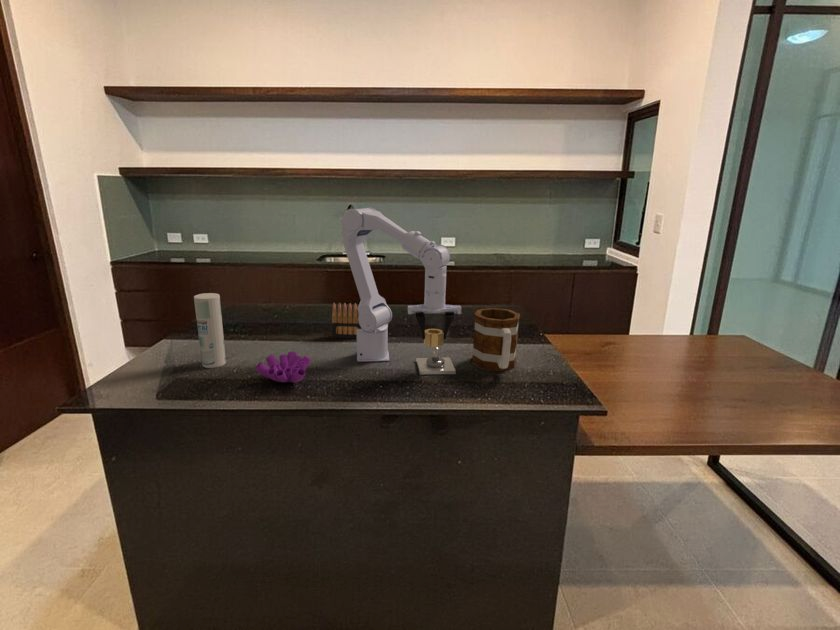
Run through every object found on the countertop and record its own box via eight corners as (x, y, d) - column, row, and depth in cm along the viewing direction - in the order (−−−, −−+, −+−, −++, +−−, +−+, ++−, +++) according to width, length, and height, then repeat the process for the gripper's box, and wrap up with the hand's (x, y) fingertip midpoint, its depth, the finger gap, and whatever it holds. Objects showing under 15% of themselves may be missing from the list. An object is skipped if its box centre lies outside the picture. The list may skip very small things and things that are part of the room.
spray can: (231, 362, 135) (224, 295, 130) (211, 369, 130) (203, 299, 124) (216, 357, 138) (209, 291, 133) (196, 364, 133) (188, 296, 127)
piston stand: (419, 374, 130) (420, 353, 128) (416, 361, 139) (416, 341, 138) (455, 373, 131) (456, 353, 129) (449, 360, 141) (450, 341, 139)
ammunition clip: (364, 336, 160) (363, 302, 157) (363, 338, 158) (362, 303, 155) (332, 335, 160) (331, 301, 157) (331, 337, 158) (330, 303, 155)
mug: (467, 354, 146) (470, 307, 142) (510, 353, 147) (514, 307, 143) (480, 380, 127) (483, 327, 123) (528, 379, 128) (533, 327, 124)
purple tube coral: (271, 403, 119) (247, 374, 117) (290, 378, 133) (268, 353, 131) (305, 380, 117) (281, 350, 115) (320, 357, 131) (298, 331, 129)
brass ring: (424, 346, 129) (425, 334, 128) (423, 340, 134) (423, 328, 133) (443, 346, 129) (444, 334, 128) (441, 340, 134) (442, 328, 133)
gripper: (409, 294, 123) (408, 343, 127) (464, 294, 124) (461, 342, 128) (407, 288, 129) (406, 334, 133) (459, 288, 131) (457, 334, 135)
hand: (433, 338), depth 131 cm, fingers closed on brass ring, 5 cm apart
